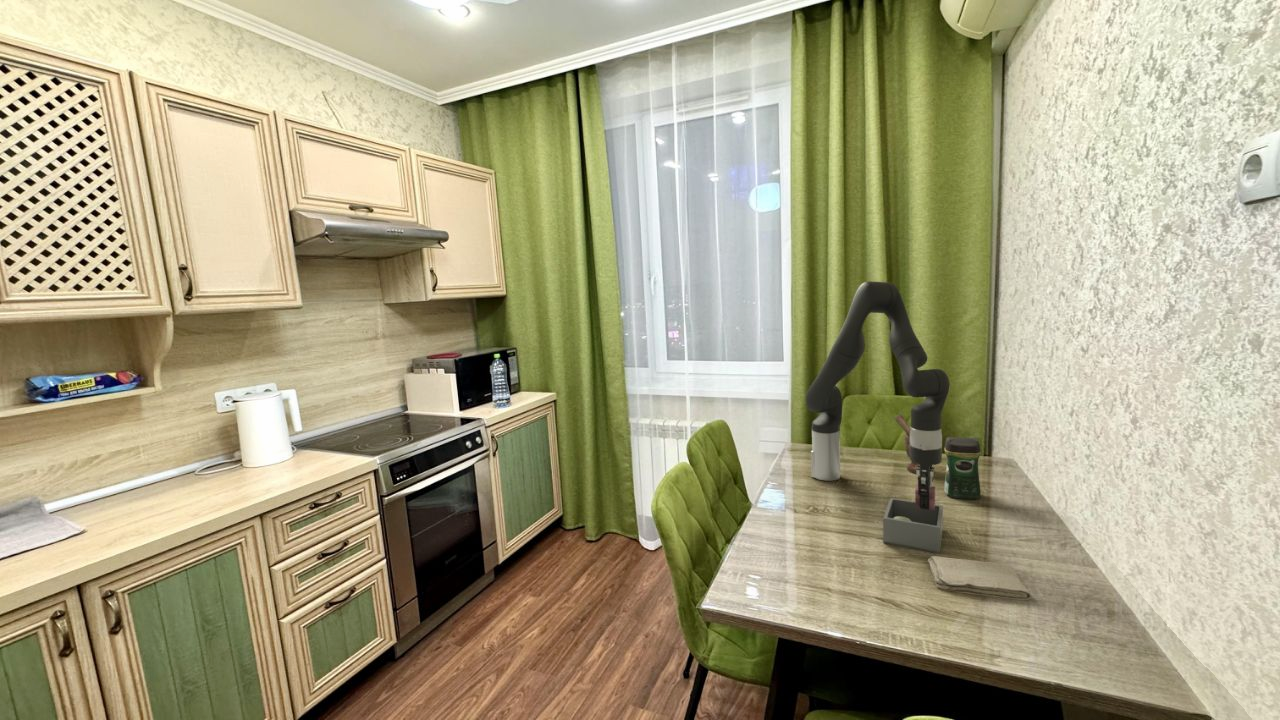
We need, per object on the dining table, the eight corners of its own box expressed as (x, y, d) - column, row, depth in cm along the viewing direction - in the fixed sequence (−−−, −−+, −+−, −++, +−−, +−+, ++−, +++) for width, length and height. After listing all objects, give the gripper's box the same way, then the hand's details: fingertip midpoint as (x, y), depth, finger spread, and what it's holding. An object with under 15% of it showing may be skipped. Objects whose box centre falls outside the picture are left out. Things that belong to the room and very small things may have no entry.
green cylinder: (891, 539, 136) (891, 521, 135) (893, 532, 139) (893, 515, 138) (910, 543, 133) (910, 525, 132) (911, 535, 137) (912, 518, 136)
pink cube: (915, 507, 137) (915, 490, 136) (916, 501, 140) (916, 484, 140) (934, 510, 134) (934, 492, 134) (935, 504, 138) (935, 486, 137)
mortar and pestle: (896, 473, 180) (896, 418, 177) (893, 465, 188) (893, 412, 185) (933, 475, 176) (934, 419, 173) (929, 466, 184) (929, 413, 181)
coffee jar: (977, 491, 161) (979, 435, 159) (982, 501, 154) (983, 442, 152) (942, 488, 165) (943, 433, 163) (945, 498, 158) (946, 440, 156)
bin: (883, 542, 135) (883, 518, 134) (890, 520, 147) (890, 497, 146) (940, 553, 128) (940, 527, 127) (942, 529, 140) (943, 505, 139)
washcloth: (925, 564, 125) (926, 552, 125) (1012, 572, 119) (1012, 560, 119) (936, 592, 114) (936, 579, 114) (1032, 603, 108) (1033, 590, 108)
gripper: (912, 434, 143) (912, 492, 145) (906, 450, 131) (906, 513, 134) (943, 437, 139) (942, 497, 141) (940, 453, 127) (939, 518, 129)
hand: (925, 504), depth 137 cm, fingers closed on pink cube, 4 cm apart
